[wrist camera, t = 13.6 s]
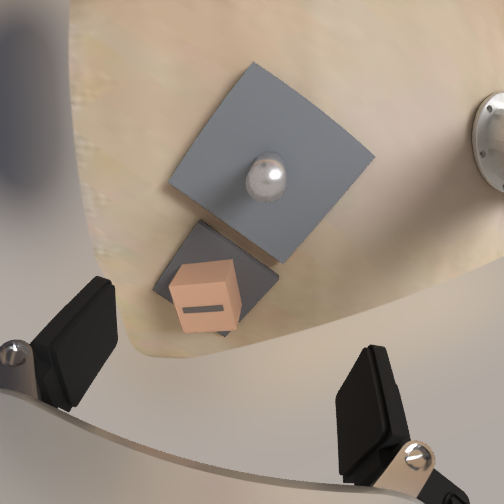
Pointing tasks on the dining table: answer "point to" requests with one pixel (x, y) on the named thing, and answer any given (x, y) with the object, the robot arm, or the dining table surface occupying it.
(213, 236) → the pad
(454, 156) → the dining table surface
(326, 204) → the stand
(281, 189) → the post
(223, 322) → the tan slotted box
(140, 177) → the dining table surface
